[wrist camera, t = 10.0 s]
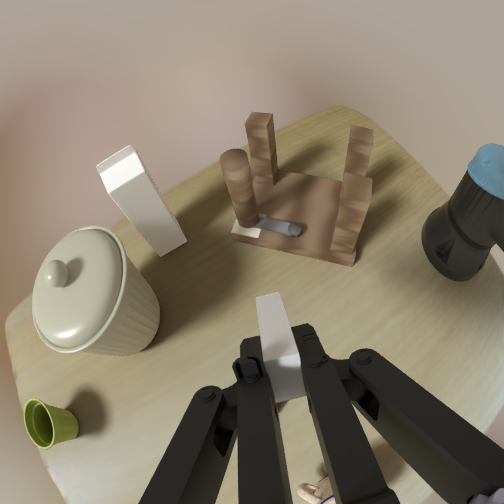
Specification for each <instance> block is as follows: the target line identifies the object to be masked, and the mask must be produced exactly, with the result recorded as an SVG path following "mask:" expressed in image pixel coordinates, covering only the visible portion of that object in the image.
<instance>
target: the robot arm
mask: <svg viewBox="0 0 504 504" xmlns="http://www.w3.org/2000/svg"><path fill="white" fill-rule="evenodd" d="M496 243H497V245H498V246H499V247H500V248H501V249H502V250H503V252H504V146H502V145H497V144H485V145H483V146H482V147H480V149H479V150H478V151H477V153H476V155H475V156H474V158H473V159H472V160H471V161H470V162H469V164H468V170H467V171H466V173H465V175H464V177H463V178H462V180H461V182H460V183H459V185H458V187H457V189H456V190H455V192H454V193H453V195H452V196H451V198H450V200H449V201H448V202H447V203H445V204H444V205H442V206H441V207H439V208H437V209H435V210H434V211H433V212H432V213H431V214H430V215H429V216H428V218H427V220H426V221H425V223H424V225H423V228H422V244H423V248H424V250H425V253H426V255H427V257H428V259H429V260H430V262H431V263H432V265H433V266H434V267H435V268H436V269H437V270H438V271H439V272H440V273H441V274H442V275H444V276H445V277H447V278H449V279H452V280H455V281H466V280H469V279H471V278H472V277H473V276H475V275H476V274H477V273H478V272H479V271H480V270H481V269H482V267H483V265H484V263H485V260H486V259H487V256H488V254H489V252H490V250H491V248H492V246H494V244H496ZM255 298H256V305H257V313H258V321H259V329H260V336H255V337H251V338H246V339H244V340H243V341H242V343H241V345H240V358H238V359H236V361H235V362H234V363H233V366H232V368H233V370H234V373H235V376H236V378H237V382H236V383H235V384H233V385H232V386H230V387H228V388H225V389H223V390H221V389H220V388H219V387H217V386H206V387H203V388H201V389H200V390H198V391H197V392H196V393H195V395H194V396H193V398H192V400H191V402H190V404H189V406H188V408H187V410H186V412H185V414H184V416H183V418H182V420H181V422H180V424H179V426H178V428H177V430H176V432H175V434H174V436H173V438H172V440H171V442H170V444H169V446H168V448H167V449H166V451H165V453H164V455H163V457H162V459H161V461H160V463H159V465H158V467H157V469H156V471H155V473H154V475H153V477H152V478H151V480H150V482H149V484H148V486H147V488H146V490H145V492H144V494H143V496H142V498H141V500H140V501H139V503H138V504H215V502H216V499H217V496H218V493H219V490H220V487H221V484H222V481H223V478H224V475H225V472H226V469H227V466H228V463H229V460H230V456H231V453H232V450H233V447H234V444H235V441H236V437H237V434H238V498H239V504H293V501H292V495H291V489H290V483H289V477H288V471H287V465H286V459H285V453H284V446H283V440H282V434H281V428H280V422H279V416H278V410H277V407H276V403H277V402H282V401H286V400H291V399H295V398H299V397H303V396H307V399H308V405H309V410H310V413H311V415H312V418H313V422H314V426H315V429H316V433H317V436H318V440H319V444H320V447H321V451H322V454H323V458H324V462H325V465H326V469H327V473H328V477H329V480H330V484H331V488H332V491H333V495H334V499H335V503H336V504H400V502H399V500H398V497H397V495H396V493H395V492H394V491H393V490H392V489H390V488H389V487H388V486H387V484H386V482H385V480H384V477H383V475H382V472H381V470H380V468H379V465H378V463H377V460H376V458H375V456H374V453H373V451H372V449H371V446H370V444H369V442H368V440H367V437H366V435H365V433H364V430H363V428H362V426H361V424H360V421H359V419H358V417H357V415H356V412H355V410H354V408H353V406H352V404H353V405H354V406H355V407H356V408H357V409H358V411H359V412H360V413H361V414H362V415H363V416H364V417H365V418H366V419H367V420H368V421H369V423H370V424H371V425H372V426H373V427H374V428H375V429H376V430H377V431H378V432H379V433H380V434H381V436H382V437H383V438H384V439H385V440H386V441H387V442H388V443H389V444H390V445H391V446H392V447H393V448H394V449H395V450H396V451H397V452H398V454H399V455H400V456H401V457H402V458H403V459H404V460H405V461H406V462H407V463H408V464H409V465H410V466H411V467H412V468H413V469H414V470H415V471H416V472H417V473H418V474H419V475H420V476H421V477H422V478H423V479H424V480H425V481H426V482H427V483H428V484H429V485H430V486H431V487H432V489H433V490H434V491H435V492H436V493H438V494H439V495H440V496H441V497H442V498H443V499H444V500H445V501H446V502H447V503H449V504H504V449H502V448H501V447H500V446H499V445H497V444H496V443H495V442H493V441H492V440H491V439H489V438H488V437H487V436H485V435H484V434H483V433H481V432H480V431H479V430H478V429H476V428H475V427H474V426H472V425H471V424H470V423H468V422H467V421H466V420H464V419H463V418H462V417H461V416H459V415H458V414H457V413H455V412H454V411H453V410H451V409H450V408H449V407H448V406H446V405H445V404H444V403H442V402H441V401H440V400H438V399H437V398H436V397H435V396H433V395H432V394H431V393H429V392H428V391H427V390H425V389H424V388H423V387H422V386H420V385H419V384H418V383H416V382H415V381H414V380H412V379H411V378H410V377H409V376H407V375H406V374H405V373H403V372H402V371H401V370H399V369H398V368H397V367H396V366H394V365H393V364H392V363H390V362H389V361H388V360H386V359H385V358H384V357H383V356H381V355H380V354H379V353H377V352H376V351H374V350H372V349H367V348H366V349H359V350H357V351H355V352H353V353H352V354H351V355H350V357H349V359H344V360H336V359H332V358H330V357H329V356H328V355H327V354H326V353H325V351H324V349H323V347H322V345H321V343H320V341H319V338H318V336H317V334H316V332H315V330H314V328H313V327H312V326H311V325H309V324H308V323H306V324H302V325H299V326H295V327H290V324H289V321H288V318H287V315H286V312H285V309H284V306H283V303H282V300H281V297H280V294H279V292H275V293H271V294H267V295H263V296H259V297H255ZM275 402H276V403H275ZM351 402H352V403H351Z"/></svg>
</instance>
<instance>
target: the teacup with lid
mask: <svg viewBox="0 0 504 504" xmlns="http://www.w3.org/2000/svg"><path fill="white" fill-rule="evenodd" d="M297 493H298V494H299V495H300V496H301V497H302V498H303V499H305V500H307V501H308V502H309V504H336V503H335V499H334V495H333V491H332V488H331V484H330V480H329V477H326V478H324V479H323V480H321V481H320V482H318V483H317V484H316V485H315V486H314V485H311V484H308V483H303V484H301V485H300V486H299V487H298V488H297Z"/></svg>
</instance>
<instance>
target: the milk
mask: <svg viewBox="0 0 504 504" xmlns="http://www.w3.org/2000/svg"><path fill="white" fill-rule="evenodd" d="M96 169H97V170H98V172H99V173H100V175H101V177H102V180H103V182H104V185H105V187H106V189H107V192H108V194H109V195H110V196H111V198H112V199H113V200H114V201H115V203H116V204H117V205H118V207H119V208H120V209H121V210H122V212H123V213H124V214H125V215H126V217H127V218H128V219H129V220H130V222H131V223H132V224H133V225H134V226H135V228H136V229H137V230H138V231H139V233H140V234H141V235H142V236H143V237H144V238H145V240H146V241H147V242H148V243H149V244H150V246H151V247H152V248H153V249H154V250H155V251H156V253H157V254H158V255H159V256H160V257H162V256H163V255H165V254H167V253H169V252H170V251H172V250H174V249H175V248H177V247H179V246H181V245H182V244H184V243H186V242H187V239H186V237H185V235H184V233H183V231H182V229H181V227H180V225H179V223H178V221H177V220H176V218H175V216H174V215H173V213H172V211H171V210H170V208H169V206H168V205H167V203H166V201H165V200H164V198H163V196H162V194H161V193H160V191H159V189H158V188H157V186H156V184H155V182H154V181H153V179H152V177H151V175H150V174H149V172H148V170H147V168H146V167H145V165H144V163H143V161H142V160H141V158H140V156H139V154H138V152H137V151H135V149H134V148H133V146H132V145H129V146H127V147H125V148H124V149H122V150H120V151H119V152H117V153H115V154H114V155H112V156H111V157H109V158H107V159H106V160H104V161H103V162H101V163H100V164H98V165H97V166H96Z"/></svg>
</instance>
